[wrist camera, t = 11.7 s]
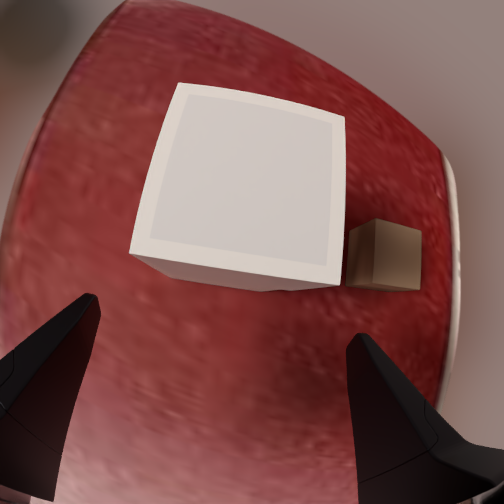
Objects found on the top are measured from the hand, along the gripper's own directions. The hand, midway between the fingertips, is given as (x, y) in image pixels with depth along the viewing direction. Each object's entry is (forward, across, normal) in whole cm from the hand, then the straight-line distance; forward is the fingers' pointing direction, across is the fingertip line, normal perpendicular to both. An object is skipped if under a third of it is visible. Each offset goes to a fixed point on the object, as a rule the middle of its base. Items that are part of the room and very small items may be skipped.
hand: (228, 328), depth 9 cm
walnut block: (+9, -10, +2) cm, 13 cm away
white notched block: (+9, 0, +2) cm, 9 cm away
